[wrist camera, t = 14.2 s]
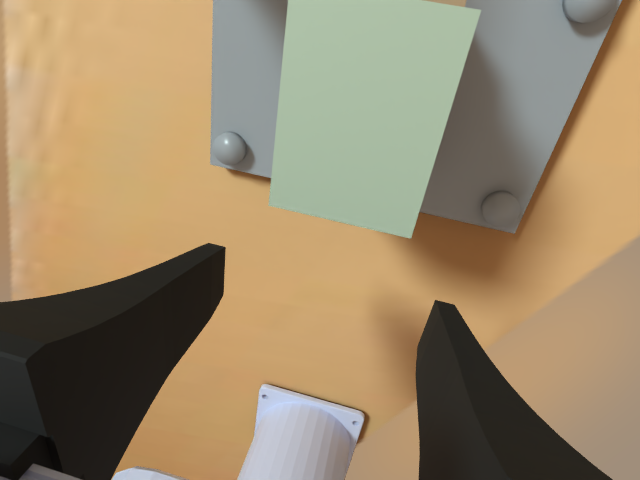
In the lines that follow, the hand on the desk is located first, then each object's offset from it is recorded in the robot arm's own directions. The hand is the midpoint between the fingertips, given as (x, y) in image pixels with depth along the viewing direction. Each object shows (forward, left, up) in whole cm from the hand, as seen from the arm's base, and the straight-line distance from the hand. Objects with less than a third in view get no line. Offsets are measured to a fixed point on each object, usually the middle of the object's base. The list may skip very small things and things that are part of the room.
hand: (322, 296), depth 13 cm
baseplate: (+6, 0, -9) cm, 11 cm away
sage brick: (+6, 0, -4) cm, 7 cm away
